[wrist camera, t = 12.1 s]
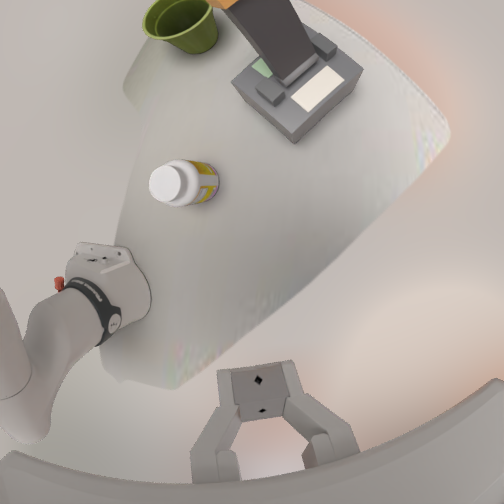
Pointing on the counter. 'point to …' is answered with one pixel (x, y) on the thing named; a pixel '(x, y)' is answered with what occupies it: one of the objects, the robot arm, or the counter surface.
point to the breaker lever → (273, 35)
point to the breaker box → (300, 88)
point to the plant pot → (182, 24)
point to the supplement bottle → (183, 183)
